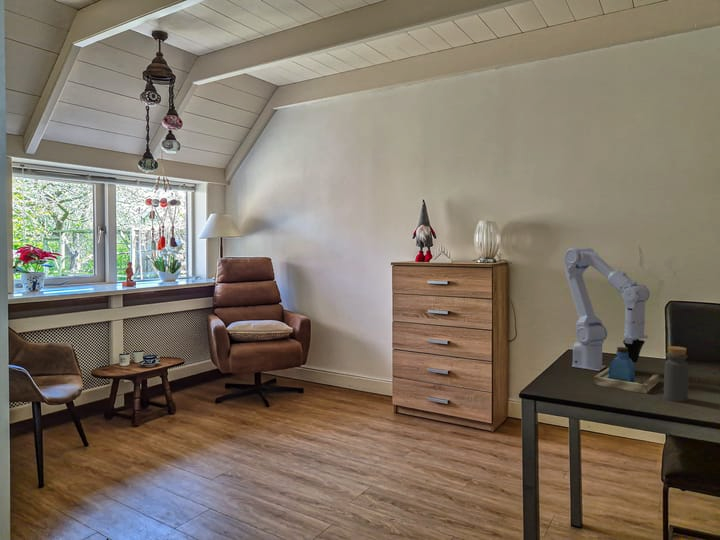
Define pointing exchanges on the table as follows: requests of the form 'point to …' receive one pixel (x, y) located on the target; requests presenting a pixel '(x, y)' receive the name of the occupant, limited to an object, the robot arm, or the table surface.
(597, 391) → the table surface
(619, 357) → the perfume bottle
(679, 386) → the bottle
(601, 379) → the walled pen
